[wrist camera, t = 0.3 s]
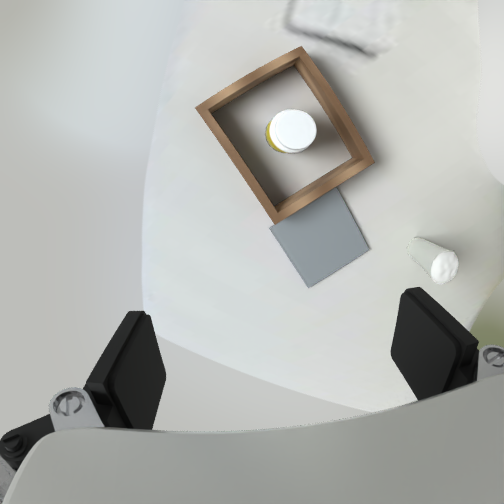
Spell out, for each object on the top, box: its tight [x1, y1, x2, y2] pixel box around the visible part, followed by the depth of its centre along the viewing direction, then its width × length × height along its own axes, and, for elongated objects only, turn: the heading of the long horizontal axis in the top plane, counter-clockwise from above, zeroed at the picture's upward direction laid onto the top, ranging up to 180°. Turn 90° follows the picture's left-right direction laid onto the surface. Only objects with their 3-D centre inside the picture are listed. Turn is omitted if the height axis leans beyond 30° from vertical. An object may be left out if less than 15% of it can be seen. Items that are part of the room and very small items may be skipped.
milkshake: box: [407, 238, 459, 284], centre depth 35 cm, size 4×5×10 cm
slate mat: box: [269, 187, 369, 288], centre depth 39 cm, size 10×10×1 cm
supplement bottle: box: [265, 109, 317, 153], centre depth 31 cm, size 5×5×8 cm
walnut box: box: [195, 46, 375, 225], centre depth 33 cm, size 14×16×4 cm
